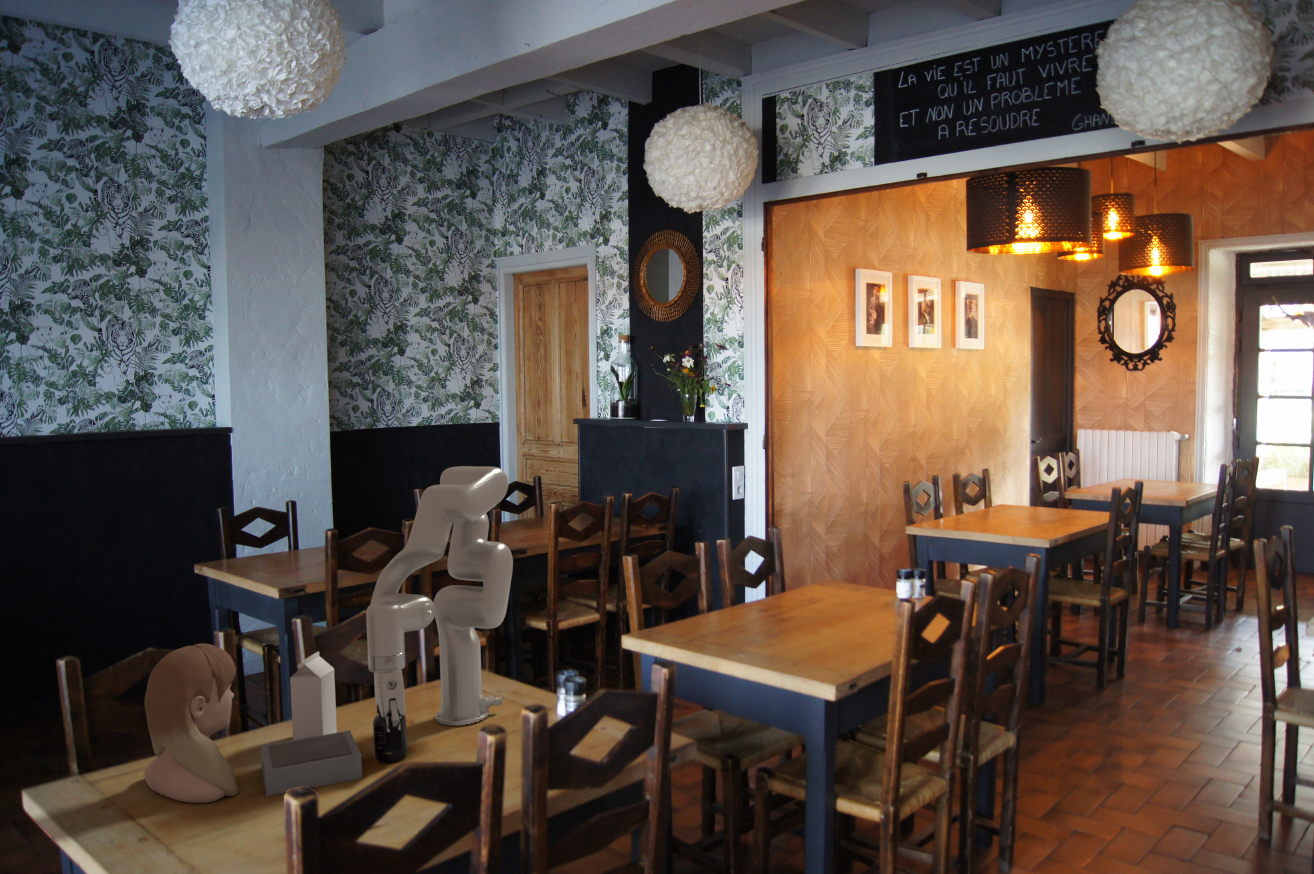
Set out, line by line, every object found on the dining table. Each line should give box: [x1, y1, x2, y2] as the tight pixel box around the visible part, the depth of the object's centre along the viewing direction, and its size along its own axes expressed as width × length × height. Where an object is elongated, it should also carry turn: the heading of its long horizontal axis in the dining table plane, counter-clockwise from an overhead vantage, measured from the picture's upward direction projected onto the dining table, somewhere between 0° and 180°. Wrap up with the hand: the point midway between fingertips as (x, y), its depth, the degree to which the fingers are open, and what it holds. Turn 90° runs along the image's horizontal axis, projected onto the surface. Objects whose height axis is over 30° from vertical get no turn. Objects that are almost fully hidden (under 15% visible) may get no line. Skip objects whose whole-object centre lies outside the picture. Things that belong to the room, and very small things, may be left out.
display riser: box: [260, 730, 363, 797], centre depth 196 cm, size 18×16×5 cm
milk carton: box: [289, 651, 338, 740], centre depth 216 cm, size 7×7×19 cm
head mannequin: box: [143, 643, 239, 804], centre depth 191 cm, size 25×17×28 cm
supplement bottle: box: [372, 704, 408, 764], centre depth 203 cm, size 7×7×12 cm
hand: (390, 742), depth 203 cm, fingers closed on supplement bottle, 6 cm apart
